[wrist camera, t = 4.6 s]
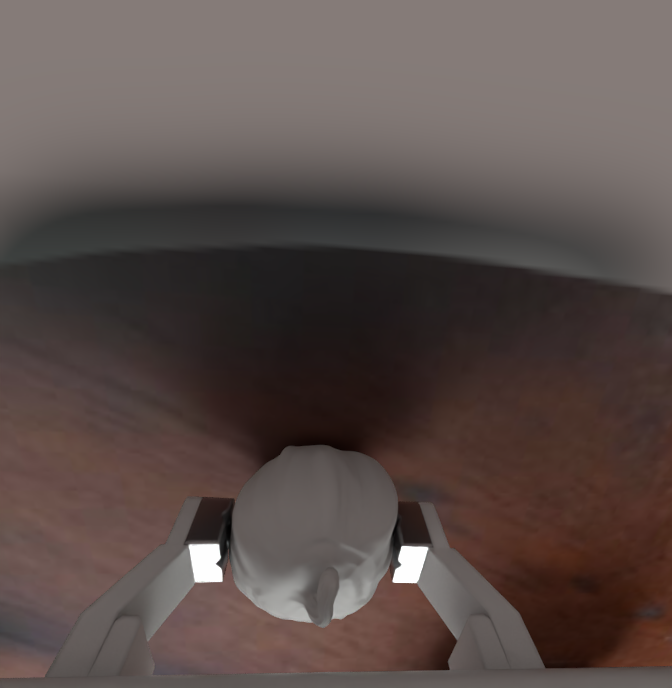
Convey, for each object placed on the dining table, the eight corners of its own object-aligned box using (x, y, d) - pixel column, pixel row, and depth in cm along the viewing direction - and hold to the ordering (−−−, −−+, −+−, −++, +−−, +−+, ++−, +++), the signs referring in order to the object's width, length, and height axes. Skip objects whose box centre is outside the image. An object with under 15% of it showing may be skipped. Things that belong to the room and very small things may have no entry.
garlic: (311, 385, 11) (304, 528, 6) (414, 461, 13) (470, 619, 8) (211, 482, 13) (148, 652, 8) (315, 538, 14) (312, 705, 10)
